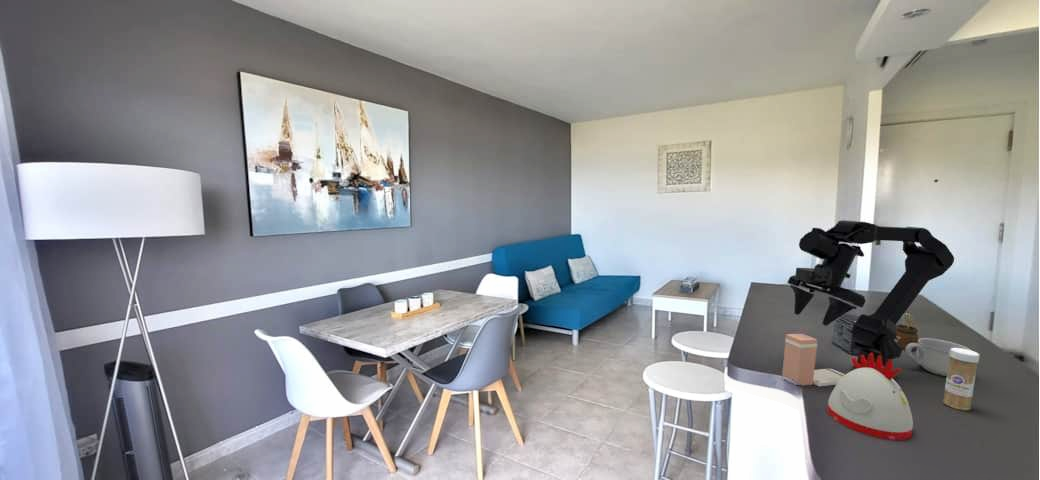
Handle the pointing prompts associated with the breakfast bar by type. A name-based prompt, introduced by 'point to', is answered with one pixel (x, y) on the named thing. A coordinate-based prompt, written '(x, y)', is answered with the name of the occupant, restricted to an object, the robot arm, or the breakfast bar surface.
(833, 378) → the ticket strip
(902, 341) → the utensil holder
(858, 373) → the kitchen timer
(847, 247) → the robot arm
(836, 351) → the breakfast bar surface
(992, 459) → the breakfast bar surface
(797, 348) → the carton
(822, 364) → the breakfast bar surface
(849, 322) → the small box
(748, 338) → the breakfast bar surface
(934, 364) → the teacup
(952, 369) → the sprinkles bottle
